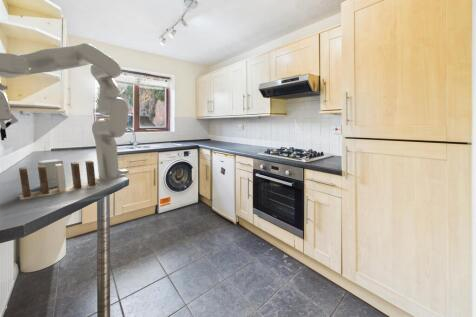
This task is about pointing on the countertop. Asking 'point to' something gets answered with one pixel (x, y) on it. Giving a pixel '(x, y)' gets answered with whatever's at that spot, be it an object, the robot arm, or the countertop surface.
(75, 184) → the domino
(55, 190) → the board
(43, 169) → the domino
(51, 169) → the supplement box
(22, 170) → the domino end
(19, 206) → the countertop surface
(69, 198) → the countertop surface
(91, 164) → the domino
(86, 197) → the countertop surface
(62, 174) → the domino
